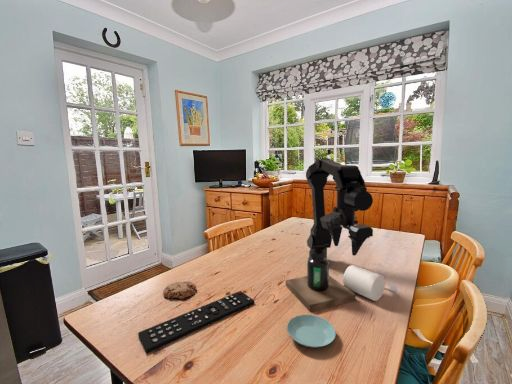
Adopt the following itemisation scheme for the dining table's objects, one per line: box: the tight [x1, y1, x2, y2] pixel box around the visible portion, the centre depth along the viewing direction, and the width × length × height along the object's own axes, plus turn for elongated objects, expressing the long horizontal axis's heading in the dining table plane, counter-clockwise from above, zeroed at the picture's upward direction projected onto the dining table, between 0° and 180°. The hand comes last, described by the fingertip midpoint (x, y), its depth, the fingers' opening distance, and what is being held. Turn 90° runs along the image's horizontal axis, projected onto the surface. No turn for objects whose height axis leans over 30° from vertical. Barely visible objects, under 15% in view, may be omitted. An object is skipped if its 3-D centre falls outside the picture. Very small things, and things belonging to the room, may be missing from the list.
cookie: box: [162, 281, 197, 300], centre depth 86 cm, size 10×11×3 cm
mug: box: [342, 264, 386, 302], centre depth 84 cm, size 12×10×8 cm
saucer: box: [286, 314, 337, 349], centre depth 64 cm, size 12×12×2 cm
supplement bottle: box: [306, 249, 330, 291], centre depth 84 cm, size 7×7×12 cm
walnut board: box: [285, 274, 356, 312], centre depth 84 cm, size 16×16×2 cm
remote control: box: [137, 290, 255, 354], centre depth 72 cm, size 8×32×2 cm, turn 128°
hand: (344, 250), depth 86 cm, fingers open, 9 cm apart
